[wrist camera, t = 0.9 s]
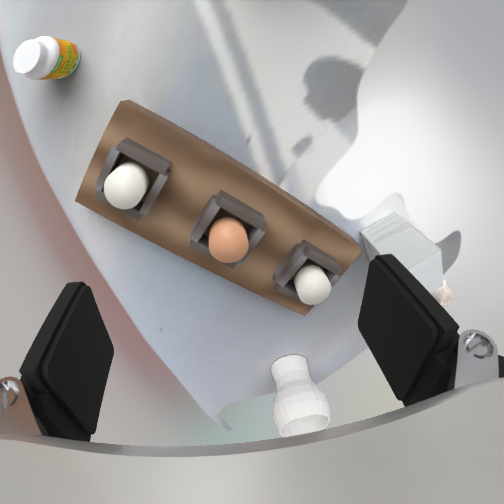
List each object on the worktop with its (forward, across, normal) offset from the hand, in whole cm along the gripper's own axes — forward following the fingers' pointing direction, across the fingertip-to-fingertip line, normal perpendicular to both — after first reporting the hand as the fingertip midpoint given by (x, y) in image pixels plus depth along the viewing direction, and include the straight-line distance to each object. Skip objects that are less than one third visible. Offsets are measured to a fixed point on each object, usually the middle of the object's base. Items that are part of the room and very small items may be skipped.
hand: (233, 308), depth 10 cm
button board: (+32, -1, +9) cm, 33 cm away
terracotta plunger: (+25, -1, +9) cm, 27 cm away
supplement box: (+32, -26, +15) cm, 44 cm away
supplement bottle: (+32, +20, -16) cm, 40 cm away
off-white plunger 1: (+25, +10, +1) cm, 27 cm away
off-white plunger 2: (+26, -11, +17) cm, 33 cm away
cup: (+33, -11, +44) cm, 56 cm away
